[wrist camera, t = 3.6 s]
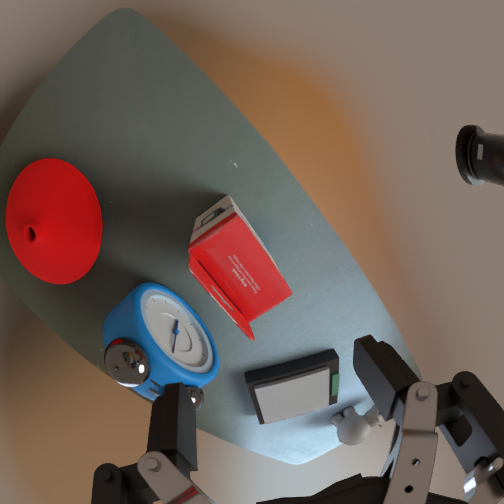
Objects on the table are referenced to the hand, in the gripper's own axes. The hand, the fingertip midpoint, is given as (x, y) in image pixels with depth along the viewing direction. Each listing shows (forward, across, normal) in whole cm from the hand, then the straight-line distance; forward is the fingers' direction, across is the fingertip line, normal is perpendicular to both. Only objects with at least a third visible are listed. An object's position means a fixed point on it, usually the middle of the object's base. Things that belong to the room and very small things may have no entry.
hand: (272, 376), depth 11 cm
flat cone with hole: (+23, +21, -7) cm, 32 cm away
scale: (+23, -5, +29) cm, 37 cm away
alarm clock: (+23, +10, +9) cm, 27 cm away
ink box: (+23, 0, 0) cm, 23 cm away
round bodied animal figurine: (+23, -18, +45) cm, 53 cm away
